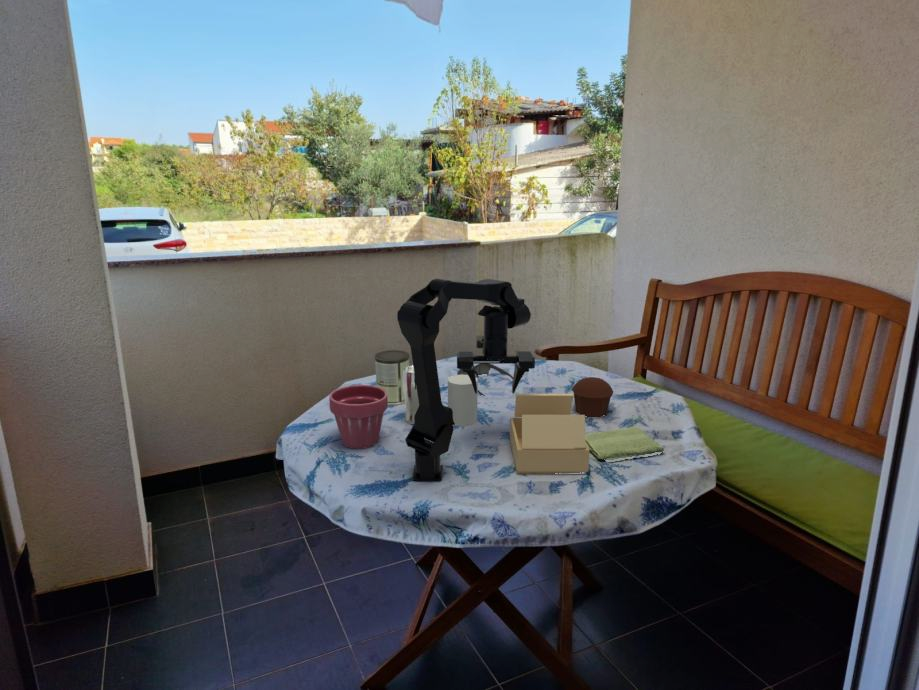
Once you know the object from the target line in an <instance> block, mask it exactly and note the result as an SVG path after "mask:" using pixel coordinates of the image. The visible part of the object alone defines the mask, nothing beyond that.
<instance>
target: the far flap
mask: <svg viewBox="0 0 919 690" xmlns="http://www.w3.org/2000/svg"><path fill="white" fill-rule="evenodd" d="M573 401H574V393H516V394H515V402H514V403H515V404H514V405H515V406H514V417H513V418H522V415H572V414H571V413H572V406H573V403H574V402H573Z"/></svg>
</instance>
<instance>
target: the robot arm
mask: <svg viewBox="0 0 919 690" xmlns="http://www.w3.org/2000/svg"><path fill="white" fill-rule="evenodd" d="M436 298H437V300H436V302H435V303H434V304H433V305H430V304H429V303H431V302H433V301H435V299H436ZM452 299H457V300H474V301H478V302H482V303H485V305H484V306H483V308H482V309H480V310H479V311H478V312H477V315H478V316H480V317H483V335H476V340H475V341H476V343H475V344H476V346H475V347H476V349H482V354H483V355H474V353H473V351H458V352H457V353H456V369H459V370H460V369H462V371H463V372H467V374H468V376H469V378H470V380H471V382H472V385H473V388H474V391H475V394H477V385H476V378H477V376H476V374H475V370H474V366H475V365H478V364H493V365H494V364H499V365H500V364H501V365H502V364H503V365H504V364H510V365H511V364H513V365H514V371H513V379H512V384H511V392H512V394H515V392H516V391H517V390H516V389H517V386H519V383H520V381H521V380H522V378H523V376H524V375H525V374H526V373H528V372H529V371H530V369H531V370H533V369H535V368H536V367H535V366H536V358H535V357H534V355H533V353H532V351H526V350H525V351H523V350H522V351H520V350H518V351H516V352H515V355H508V337H509V336H508V334H509V333H508V329H513V328H517V327H520V326H524V325H526V324H528V323H529V321H531V316H532V313H531V311H530V308H529V307H528V305H527V304H525V299H524V298H519V297H517V294H516V292H515V290H514V288H513V286H512V282H509V281H507V280H500V279H499V280H498V279H493V278H492V279H491V278H485V279H479V280H478V281H476V282H469V281H457V280H456V281H455V280H450V279H449V280H448V279H441V278H434V279H432V280H430V281H429V282H428V284H427V285H426V286H425V287H423V288H422V289H420V290H418V291H416V292H415V293H414V294H412V295H411V296H409V298H408V299H407V300H406V301H405V302H404V303H403V304H402V305H401V306H400V308H399V310H398V311H397V314H396V315H397V316H396V317H397V322H398V326H399V329H400V332H401V334H402V336H403V337H404V339H405V340H406V341H407V343H408V344H409V346H410V353H411V359H412V360H411V361H412V365H413V367H414V374H415V380H416V387H417V394H418V400H419V407H418V409H417V411H416V413H415V416H414V425H413V424H412V425H413V426H412V427H411V429H410V431H409V432H408V434H407V435H406V437H405V439H404V440H405V443H406V447H408V448H411V449H412V450H413V449H414V465H413V467H414V468H413V473H412V481H413V480H414V481H415V482H420V481H421V482H425V481H426V482H427V481H428V482H429V481H430V482H431V481H432V482H435V481H437V482H438V481H439V482H441V481H443V467H444V465H442V464H441V460H442V459H441V458H442V457H441V456H442V455H444V454H446V453H447V452H449V450H450V445H451V442H452V441H451V440H452V437H453V433H454V426H455V423H454V421H453V411H452V408H449V407H448V406H446V405H444V404H443V402H442V395H441V388H440V379H439V372H438V364H437V356H436V349H435V341H437V340H436V339H437V337H438V336H439V333H440V322H441V321H442V320H443V319H444V317H445V316H446V315H447V313H448V309H449V303H450V302H451V301H452ZM486 304H490V305H486ZM491 305H493V306H491Z"/></svg>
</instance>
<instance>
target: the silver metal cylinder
mask: <svg viewBox="0 0 919 690" xmlns="http://www.w3.org/2000/svg"><path fill="white" fill-rule="evenodd" d="M402 370H403V372H402V389H403V395H404V400H405V403H404V405H405V414H404V415H405V416H404V422H405V423H406V424H408V425H414V416H415V413H416V411H417V409H418V407H419V400H418V394H417V387H416V380H415V374H414V367H413V364H411V365H409V366H406V367H404V368H403V369H402Z"/></svg>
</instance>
